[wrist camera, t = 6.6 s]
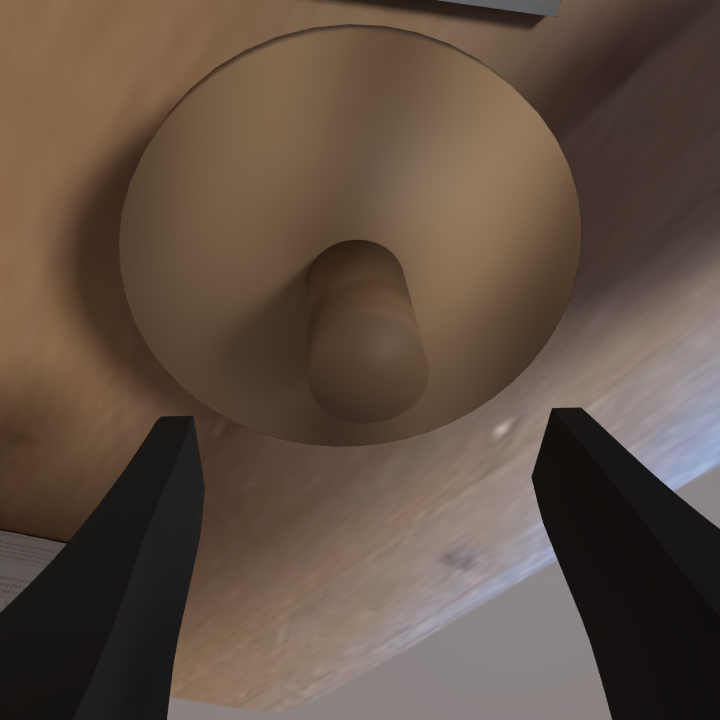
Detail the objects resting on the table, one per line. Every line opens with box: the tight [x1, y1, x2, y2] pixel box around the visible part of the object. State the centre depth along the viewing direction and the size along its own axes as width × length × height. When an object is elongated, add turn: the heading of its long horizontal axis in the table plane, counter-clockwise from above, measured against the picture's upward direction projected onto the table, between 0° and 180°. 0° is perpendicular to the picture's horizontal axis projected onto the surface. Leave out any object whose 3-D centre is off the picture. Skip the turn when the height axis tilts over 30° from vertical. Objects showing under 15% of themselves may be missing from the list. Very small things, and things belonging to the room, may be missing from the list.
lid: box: [119, 24, 581, 446], centre depth 15 cm, size 12×12×5 cm
